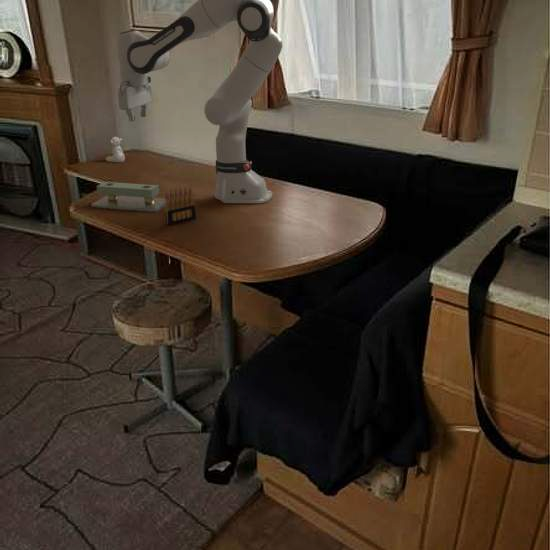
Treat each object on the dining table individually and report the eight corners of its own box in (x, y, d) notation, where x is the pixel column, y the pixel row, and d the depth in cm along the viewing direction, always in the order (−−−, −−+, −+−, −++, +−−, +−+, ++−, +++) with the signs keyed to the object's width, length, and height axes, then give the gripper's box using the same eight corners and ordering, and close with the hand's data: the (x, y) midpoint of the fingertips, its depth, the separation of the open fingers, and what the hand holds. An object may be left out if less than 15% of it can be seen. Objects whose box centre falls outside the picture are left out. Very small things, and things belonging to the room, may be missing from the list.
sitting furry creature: (123, 158, 269) (120, 133, 264) (131, 161, 263) (128, 136, 258) (105, 161, 264) (102, 136, 259) (113, 164, 258) (109, 139, 253)
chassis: (170, 202, 205) (168, 184, 202) (157, 212, 194) (154, 193, 191) (108, 197, 210) (105, 180, 207) (91, 207, 200) (88, 189, 197)
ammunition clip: (168, 225, 182) (165, 191, 176) (166, 224, 183) (162, 189, 178) (196, 219, 187) (193, 185, 182) (193, 217, 189) (191, 184, 184)
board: (159, 193, 201) (158, 185, 199) (152, 198, 196) (151, 189, 194) (106, 189, 206) (104, 181, 204) (97, 194, 200) (96, 186, 199)
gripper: (128, 83, 185) (132, 124, 191) (153, 77, 203) (157, 114, 209) (111, 82, 186) (116, 123, 192) (138, 76, 204) (142, 114, 210)
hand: (138, 119), depth 201 cm, fingers open, 8 cm apart
